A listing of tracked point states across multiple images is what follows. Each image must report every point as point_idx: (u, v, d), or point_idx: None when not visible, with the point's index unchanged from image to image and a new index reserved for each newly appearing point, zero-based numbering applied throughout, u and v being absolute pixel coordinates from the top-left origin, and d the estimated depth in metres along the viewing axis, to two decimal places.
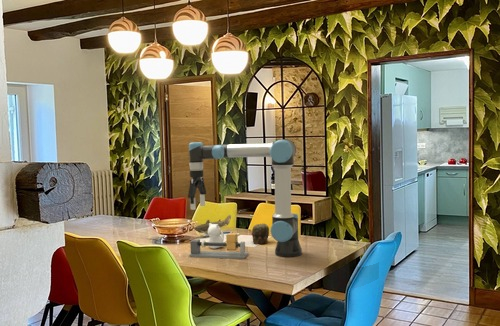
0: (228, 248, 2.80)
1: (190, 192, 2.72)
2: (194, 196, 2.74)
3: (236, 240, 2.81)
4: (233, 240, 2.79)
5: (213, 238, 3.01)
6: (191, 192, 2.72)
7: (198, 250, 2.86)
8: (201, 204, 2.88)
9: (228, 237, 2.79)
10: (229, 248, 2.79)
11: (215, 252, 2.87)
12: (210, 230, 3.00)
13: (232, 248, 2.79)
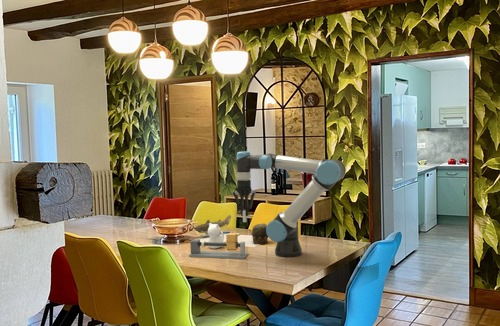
0: (228, 248, 2.80)
1: None
2: (242, 208, 2.77)
3: (236, 240, 2.81)
4: (233, 240, 2.79)
5: (213, 238, 3.01)
6: None
7: (198, 250, 2.86)
8: None
9: (228, 237, 2.79)
10: (229, 248, 2.79)
11: (215, 252, 2.87)
12: (210, 230, 3.00)
13: (232, 248, 2.79)
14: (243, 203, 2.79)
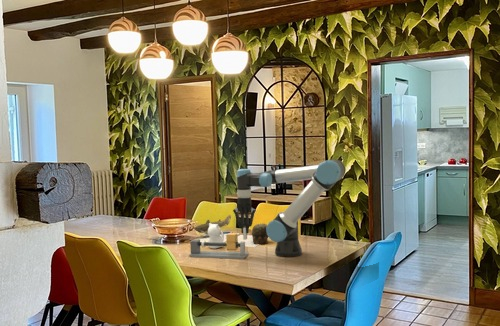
0: (228, 248, 2.80)
1: None
2: (242, 225, 2.78)
3: (236, 240, 2.81)
4: (233, 240, 2.79)
5: (213, 238, 3.01)
6: None
7: (198, 250, 2.86)
8: None
9: (228, 237, 2.79)
10: (229, 248, 2.79)
11: (215, 252, 2.87)
12: (210, 230, 3.00)
13: (232, 248, 2.79)
14: (243, 220, 2.79)
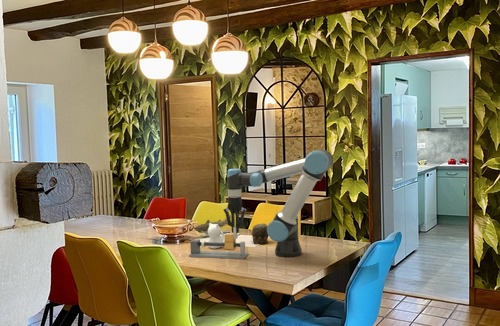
0: (226, 248, 2.80)
1: None
2: (233, 225, 2.79)
3: (234, 240, 2.81)
4: (231, 240, 2.79)
5: (213, 238, 3.01)
6: None
7: (198, 250, 2.86)
8: None
9: (226, 237, 2.79)
10: (227, 248, 2.80)
11: (215, 252, 2.87)
12: (210, 230, 3.00)
13: (230, 248, 2.79)
14: (234, 220, 2.81)
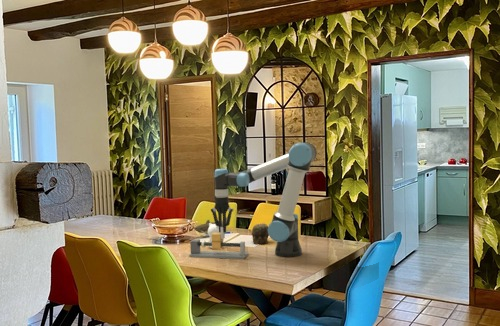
0: (213, 248, 2.82)
1: None
2: (220, 225, 2.81)
3: (221, 240, 2.83)
4: (218, 239, 2.81)
5: None
6: None
7: (198, 250, 2.86)
8: None
9: (213, 236, 2.81)
10: (214, 247, 2.82)
11: (215, 252, 2.87)
12: (210, 230, 3.00)
13: (217, 248, 2.81)
14: (221, 220, 2.83)
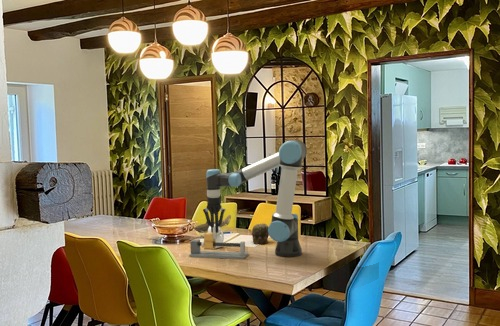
0: (206, 247, 2.83)
1: None
2: (212, 225, 2.82)
3: (214, 239, 2.84)
4: (210, 239, 2.82)
5: None
6: None
7: (198, 250, 2.86)
8: None
9: (206, 236, 2.82)
10: (206, 247, 2.83)
11: (215, 252, 2.87)
12: (210, 230, 3.00)
13: (209, 247, 2.82)
14: (213, 220, 2.84)
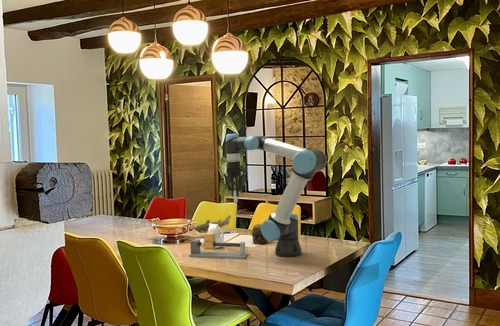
0: (206, 247, 2.83)
1: None
2: (233, 189, 2.85)
3: (214, 239, 2.84)
4: (210, 239, 2.82)
5: None
6: None
7: (198, 250, 2.86)
8: None
9: (206, 236, 2.82)
10: (206, 247, 2.83)
11: (215, 252, 2.87)
12: (210, 230, 3.00)
13: (209, 247, 2.82)
14: (233, 184, 2.86)
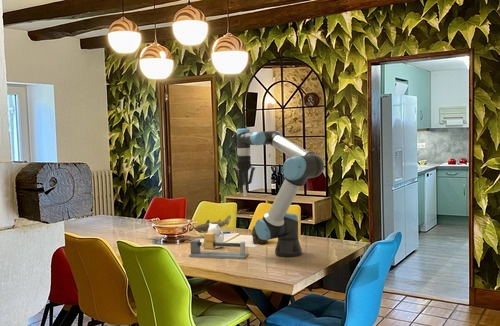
0: (206, 247, 2.83)
1: None
2: (242, 183, 2.89)
3: (214, 239, 2.84)
4: (210, 239, 2.82)
5: None
6: None
7: (198, 250, 2.86)
8: None
9: (206, 236, 2.82)
10: (206, 247, 2.83)
11: (215, 252, 2.87)
12: (210, 230, 3.00)
13: (209, 247, 2.82)
14: (243, 178, 2.90)
